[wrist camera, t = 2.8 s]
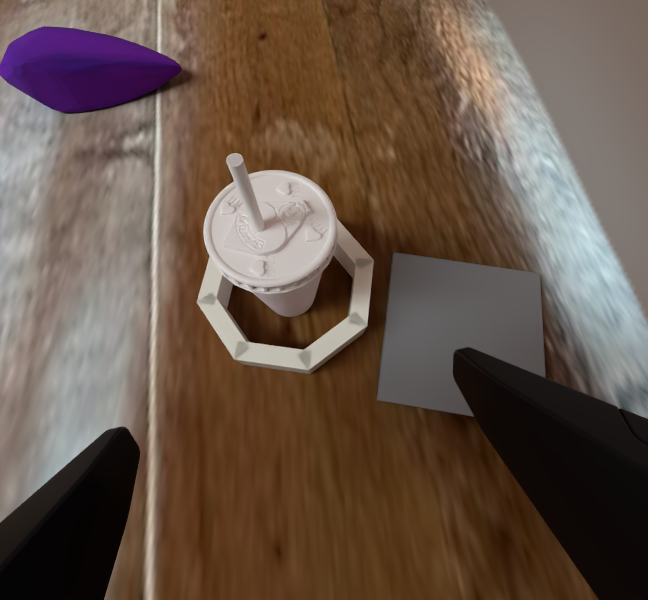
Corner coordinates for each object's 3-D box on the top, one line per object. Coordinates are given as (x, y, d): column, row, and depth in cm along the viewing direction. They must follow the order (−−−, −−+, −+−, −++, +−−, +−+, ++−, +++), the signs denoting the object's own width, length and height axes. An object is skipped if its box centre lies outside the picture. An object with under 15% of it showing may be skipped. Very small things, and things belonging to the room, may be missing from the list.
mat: (542, 428, 21) (548, 429, 20) (376, 400, 22) (378, 400, 21) (534, 276, 24) (539, 273, 24) (392, 255, 25) (393, 252, 24)
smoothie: (234, 277, 24) (128, 124, 11) (308, 242, 25) (291, 62, 12) (271, 350, 23) (196, 271, 9) (348, 309, 24) (380, 184, 10)
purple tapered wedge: (173, 57, 27) (-31, 65, 24) (190, 109, 31) (19, 120, 29) (170, 20, 28) (-23, 24, 26) (186, 74, 33) (23, 82, 30)
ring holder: (270, 405, 21) (263, 404, 19) (187, 279, 24) (172, 265, 22) (398, 307, 24) (406, 296, 21) (307, 203, 27) (306, 183, 24)
